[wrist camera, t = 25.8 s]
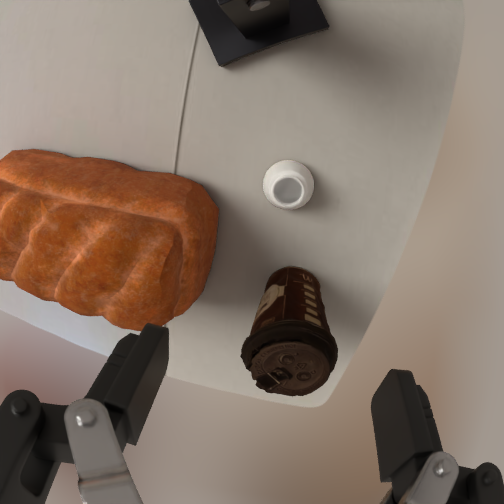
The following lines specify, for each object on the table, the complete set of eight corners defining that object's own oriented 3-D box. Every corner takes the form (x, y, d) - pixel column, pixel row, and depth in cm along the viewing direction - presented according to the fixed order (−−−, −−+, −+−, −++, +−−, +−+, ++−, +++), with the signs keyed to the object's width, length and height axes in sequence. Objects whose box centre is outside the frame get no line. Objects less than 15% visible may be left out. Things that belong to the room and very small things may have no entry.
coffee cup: (254, 315, 40) (239, 397, 28) (253, 255, 36) (235, 333, 25) (324, 319, 39) (331, 402, 27) (332, 259, 35) (348, 338, 24)
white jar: (253, 184, 32) (289, 216, 34) (249, 192, 30) (289, 227, 31) (287, 149, 30) (323, 183, 32) (286, 153, 28) (326, 191, 29)
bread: (11, 143, 33) (-61, 170, 21) (229, 183, 33) (193, 234, 21) (16, 243, 40) (-40, 286, 28) (205, 304, 40) (174, 382, 28)
